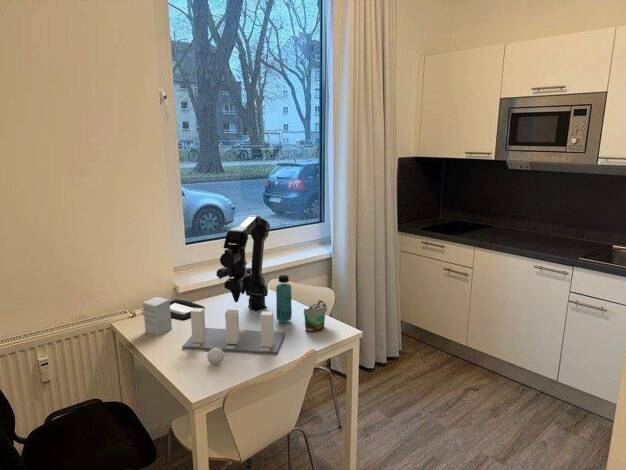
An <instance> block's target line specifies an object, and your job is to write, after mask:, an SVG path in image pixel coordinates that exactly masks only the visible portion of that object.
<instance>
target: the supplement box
mask: <svg viewBox="0 0 626 470" xmlns="http://www.w3.org/2000/svg"><path fill="white" fill-rule="evenodd" d="M170 302H171V300H170V299H168V298H164V297H159V296H155V297H153V298H150V299H148V300H146V301H144V302H142V309H143V310H142V311H143V321H144V329H145V330H144V331H145V333H148V334H151V335H154V336H161V335H162V334H164V333H166V332H168V331H170V330H172V329H173V325H172V324H173V323H172V318H171V311H170Z"/></svg>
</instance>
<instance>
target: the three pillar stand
mask: <svg viewBox="0 0 626 470" xmlns="http://www.w3.org/2000/svg"><path fill="white" fill-rule="evenodd" d="M205 317H206V316H205V309H204V308H193V309H192V310H191V318H190V322H191V336H190V337H189V338H188V339H187V341H186V342H185V343H184V344H183V345H182V350H190V351H191V350H193V351H205V352H206V351H208V352H209V351H210V350H211V349H212V348H220V349H221V350H222V351H223V352H225V353H238V354H241V353H242V354H253V355H254V354H256V355H259V354H260V355H269V356H270V355H271V356H273V355H274V356H277V355H278V353H279V352H280V351H279V350H280V349H281V346H282V344H283V341H284V339H285V337H286V331H285V332H284V331H275V329H274V311H261V313H260V315H259V317H260V318H259V320H260V330H250V329H249V330H248V329H239V338H240V340H239V342H238V344H227V341H226V328H217V327H213V328H212V327H206V318H205Z"/></svg>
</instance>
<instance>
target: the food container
mask: <svg viewBox="0 0 626 470" xmlns="http://www.w3.org/2000/svg"><path fill="white" fill-rule="evenodd" d="M327 306H328V305H327V304H326V302H325V301H324V300H321V299H319V300H318V302H317V303H315V304H313V305H312V304H311V306H309V308H304V309H303V316H304V326H305V332H306V333H314V334H315V333H320V332H322V331H323V330H324V329H325V323H326V322H325V320H326V312H327V311H328V307H327Z"/></svg>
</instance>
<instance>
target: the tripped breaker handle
mask: <svg viewBox="0 0 626 470" xmlns="http://www.w3.org/2000/svg"><path fill="white" fill-rule="evenodd" d="M224 318H225V329H226V341H227V344H238V342H239V340H240V338H239V330H240V320H239V319H240V316H239V310H238V309H227V310H226V311H225V313H224Z"/></svg>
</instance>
